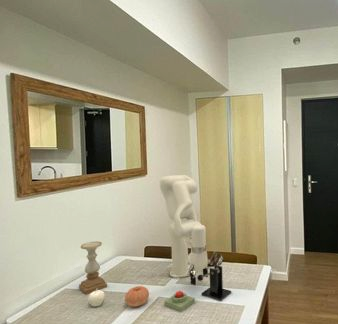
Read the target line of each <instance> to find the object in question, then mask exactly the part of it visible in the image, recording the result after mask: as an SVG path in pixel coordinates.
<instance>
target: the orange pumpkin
mask: <svg viewBox="0 0 338 324" xmlns="http://www.w3.org/2000/svg"><path fill="white" fill-rule="evenodd" d="M149 296H150V292H149V289H148V288H147V287H145V286H143V285H140V286H134V287H132V288H129V290H128V291H127V292H126V293H125V296H124V302H125V303H126V305H128V306H129V307H133V308H134V307H139V306H142V305H144V304H145V303H147V301H148V299H149Z"/></svg>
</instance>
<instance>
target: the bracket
mask: <svg viewBox="0 0 338 324" xmlns="http://www.w3.org/2000/svg"><path fill="white" fill-rule="evenodd" d="M217 267H218V268H219V270H220V272H219V273H218V270H217V269H215V268H217ZM208 271H209V273H210V275H209V287H208V288H207V289H205V290H204V291H202V292H201V296H203V297H205V298H209V299H213V300H216V301H219V302H222V301H223V300H225V299H226V298H227V297H229V295H231V294H232V290H229V289H226V288H224V286H223V284H224V283H223V266H221V265H215V266H213V267H210V268H209V269H208Z"/></svg>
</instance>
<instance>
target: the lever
mask: <svg viewBox="0 0 338 324" xmlns="http://www.w3.org/2000/svg"><path fill="white" fill-rule="evenodd" d="M215 269H217V270H218V273H219V272H220V270H219V268H218V267H217V268H215ZM206 276H208V277H209V276H210V272H208V274H205V275H203V274H198V275H197V277H196V280H197V281H199V282H202V281H203V280H204V278H207V277H206Z"/></svg>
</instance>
